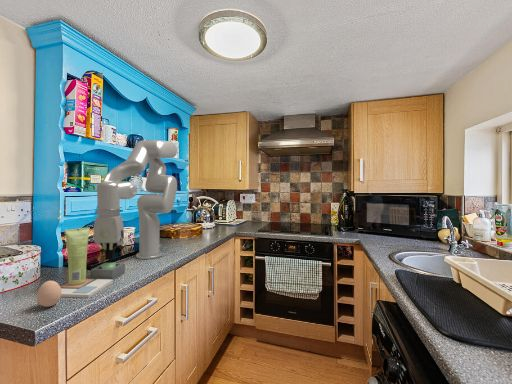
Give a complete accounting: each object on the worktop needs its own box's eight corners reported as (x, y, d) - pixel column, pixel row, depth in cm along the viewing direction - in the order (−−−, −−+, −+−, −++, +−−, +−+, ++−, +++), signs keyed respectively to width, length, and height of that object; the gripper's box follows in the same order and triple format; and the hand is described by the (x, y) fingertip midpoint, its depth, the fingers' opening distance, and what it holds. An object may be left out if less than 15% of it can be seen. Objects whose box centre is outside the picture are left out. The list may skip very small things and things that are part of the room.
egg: (32, 308, 73) (32, 282, 73) (54, 300, 79) (54, 276, 78) (43, 312, 71) (43, 286, 71) (65, 303, 76) (65, 279, 76)
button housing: (104, 272, 103) (104, 262, 103) (124, 272, 103) (124, 263, 103) (90, 280, 95) (90, 269, 95) (112, 280, 95) (112, 270, 95)
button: (106, 272, 101) (106, 262, 101) (118, 272, 101) (118, 262, 101) (98, 276, 97) (98, 266, 97) (110, 276, 97) (110, 266, 96)
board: (75, 281, 94) (75, 277, 94) (113, 282, 93) (113, 279, 93) (45, 296, 81) (45, 292, 81) (88, 297, 80) (88, 294, 80)
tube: (75, 279, 92) (75, 227, 92) (90, 279, 93) (89, 227, 92) (65, 285, 87) (64, 229, 86) (80, 285, 87) (80, 229, 86)
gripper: (83, 214, 95) (85, 261, 96) (122, 215, 95) (123, 262, 96) (96, 211, 103) (98, 255, 104) (132, 212, 102) (133, 256, 103)
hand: (110, 258), depth 100 cm, fingers closed
